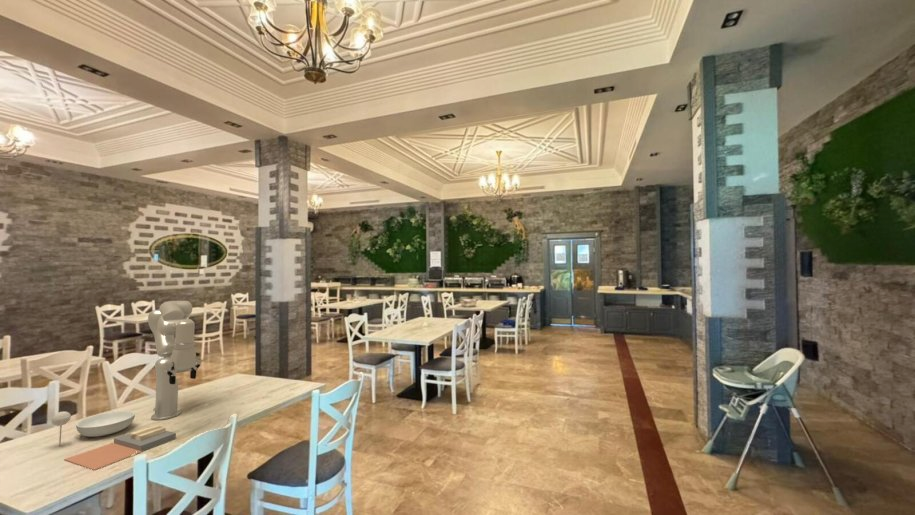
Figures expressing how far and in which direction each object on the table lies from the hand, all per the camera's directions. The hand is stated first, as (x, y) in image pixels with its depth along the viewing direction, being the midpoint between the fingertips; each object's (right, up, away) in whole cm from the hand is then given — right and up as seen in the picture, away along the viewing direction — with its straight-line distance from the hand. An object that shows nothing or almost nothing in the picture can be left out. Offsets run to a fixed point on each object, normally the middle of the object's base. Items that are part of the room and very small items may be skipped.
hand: (182, 381), depth 181 cm
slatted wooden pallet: (-7, -21, -12) cm, 25 cm away
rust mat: (-13, -23, -27) cm, 37 cm away
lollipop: (-42, -23, -18) cm, 51 cm away
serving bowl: (-35, -24, -3) cm, 43 cm away
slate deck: (-8, -23, -13) cm, 28 cm away
